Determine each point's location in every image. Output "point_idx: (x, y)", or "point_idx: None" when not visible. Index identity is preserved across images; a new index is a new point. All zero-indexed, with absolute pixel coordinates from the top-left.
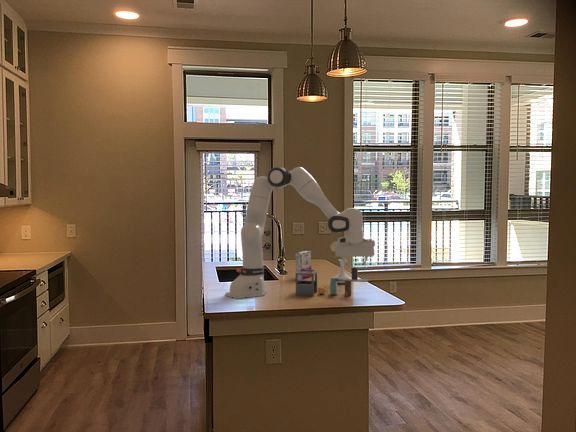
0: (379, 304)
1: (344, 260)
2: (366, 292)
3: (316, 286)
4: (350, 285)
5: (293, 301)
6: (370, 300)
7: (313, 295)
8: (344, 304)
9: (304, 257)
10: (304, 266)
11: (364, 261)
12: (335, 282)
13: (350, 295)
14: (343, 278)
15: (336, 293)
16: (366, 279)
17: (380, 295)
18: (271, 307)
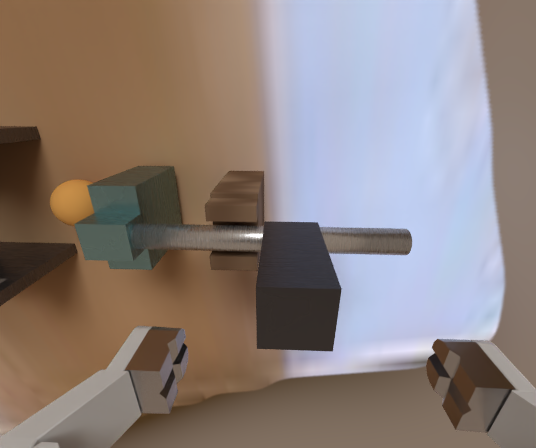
0: (396, 354)
1: (106, 441)
2: (361, 100)
3: (3, 142)
4: (259, 254)
5: (44, 344)
6: (365, 298)
7: (73, 254)
8: (254, 365)
9: None
10: None
11: (499, 445)
12: (148, 268)
13: (263, 225)
14: (191, 245)
15: (180, 217)
16: (393, 253)
17: (441, 182)
18: (24, 413)
